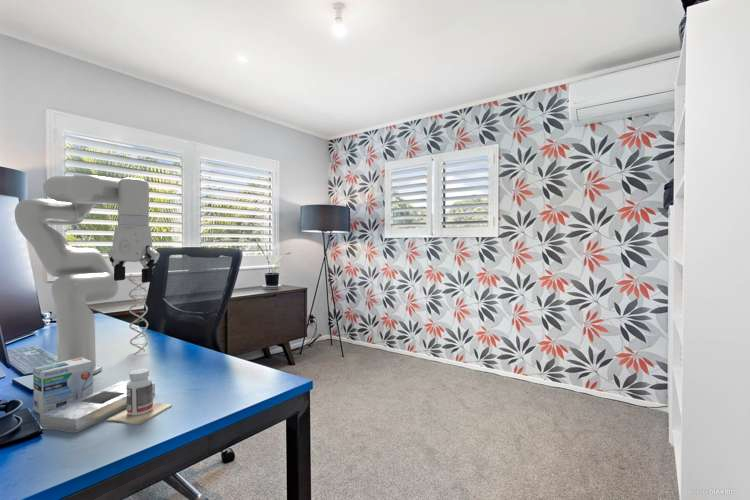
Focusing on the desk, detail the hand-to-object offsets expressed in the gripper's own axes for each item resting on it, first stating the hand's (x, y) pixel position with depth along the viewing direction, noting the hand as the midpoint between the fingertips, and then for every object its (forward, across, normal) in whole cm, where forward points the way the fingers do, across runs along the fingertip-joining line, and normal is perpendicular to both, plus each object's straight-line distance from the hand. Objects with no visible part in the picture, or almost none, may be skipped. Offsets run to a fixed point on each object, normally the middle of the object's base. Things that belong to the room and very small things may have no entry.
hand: (133, 281), depth 111 cm
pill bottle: (+29, +18, -15) cm, 38 cm away
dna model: (+32, -25, +27) cm, 48 cm away
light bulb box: (+31, -4, -16) cm, 35 cm away
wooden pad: (+29, +18, -15) cm, 38 cm away
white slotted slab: (+30, +7, -16) cm, 34 cm away
